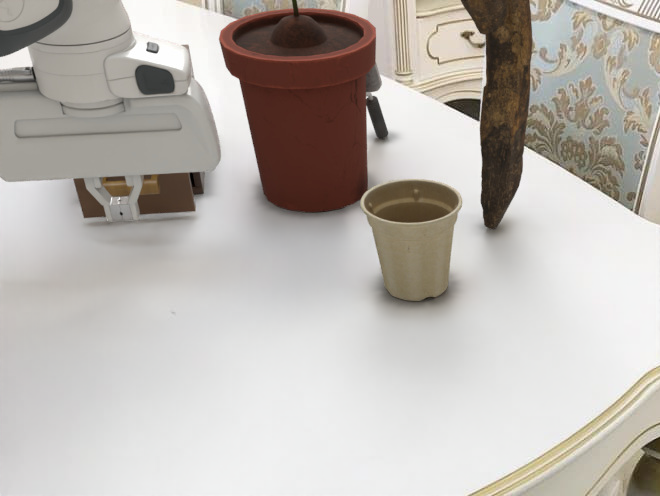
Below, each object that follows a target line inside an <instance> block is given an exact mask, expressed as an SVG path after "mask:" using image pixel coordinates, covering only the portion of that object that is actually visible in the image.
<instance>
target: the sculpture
mask: <svg viewBox="0 0 660 496" xmlns="http://www.w3.org/2000/svg"><path fill="white" fill-rule="evenodd" d="M460 2H461V4H462V6H463V8H464V9H465V10H466V12H467V14H468V15H469V16H470V18H471V19H472V22H473V23H474V25H475V27H476V29H477V31H478V32H479V34H480V35H485V76H486V83H485V85H484V86H483V88H482V89H483V90H482V99H481V107H480V108H481V109H480V122H479V141H480V142H479V143H480V144H479V145H480V155H481V182H480V186H481V192H480V205H481V208H482V218H483V225H484V227H485V228H487V229H489V230H495V229H496V228H497V227H498V226H499V225H500V223H501V222H502V220H503V218H504V216H505V214H506V213H507V211H508V209H509V207H510V205H511V203H512V202H513V200H514V198H515V196H516V194H517V191H518V189H519V187H520V184H521V181H522V175H523V171H524V170H523V169H524V152H525V143H526V132H527V123H528V117H529V107H530V99H531V61H532V56H533V27H532V26H533V25H532V13H531V12H532V11H531V4H530V3H531V2H530V0H460Z"/></svg>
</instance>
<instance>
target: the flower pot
mask: <svg viewBox="0 0 660 496" xmlns="http://www.w3.org/2000/svg"><path fill="white" fill-rule="evenodd" d="M359 205H360V209H361V211H362V213H363V214H364V215H365V216H366V220H367V223H368V225H369V226H370V228H371V231H372V236H373V239H374V244H375V248H376V253H377V257H378V262H379V266H380V271H381V275H382V280H383V286H384V288H385V289H386V290H387V291H388V293H389V294H390V295H391V296H392V297H394V298H397V299H400V300H403V301H410V302H421V301H423V300H424V299H427V298H438V297H440V296H441V295H442V294H444V292H446V290H447V289H448V287H449V280H450V279H449V278H450V267H451V260H452V259H451V258H452V247H453V240H454V239H453V238H454V231H455V230H454V229H455V225H456V223H457V221H458V217H459V214H458V213H460V211H461V209H462V207H463V197H462V194H461V193H460V192H459V191H458V190H457V189H456V188H454V187H452V185H449V184H447V183H444V182H443V181H442V182H441V181H436V180H431V179H425V178H404V179H403V178H402V179H396V180H389V181H386V182H382V183H379V184H377V185H375V186H372V187H371V188H368V191H366V192H365V193H364V195H363V196H362V198H361V199H360V200H359Z"/></svg>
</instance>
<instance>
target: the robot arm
mask: <svg viewBox="0 0 660 496" xmlns="http://www.w3.org/2000/svg"><path fill="white" fill-rule="evenodd" d="M182 45H183V44H179V43H176V42H172V41H169V40H165V39H161V38H158V37H154V36H150V35H148V34H144V33H141V32H137V31H135V30H133V27H132V23H131V19H130V16H129V13H128V11H127V9H126V7H125V6H124V3H123V1H122V0H0V58H3V57H7V56H9V55H10V56H11V55H12V54H14V53H16V52H19V51H21V50H23V49H25V48H27V50H28V55H29V57H30V58H29V59H30V61H31V65H32V66H16V67H10V68H3V69H2V68H1V69H0V179H2V180H3V181H4V182H5V183H19V182H20V183H21V182H39V181H56V180H73V179H77V178H84V181H85V185H86V189H87V190H88V191H89V192H90V193H91V194H92V195H93V196H94V197H95V198H96V200H97V201H98V202H99V203H100V204H101V205H103V206H104V210H105V214H106V217H105V218H106V221H107V222H108V223H113V222H129V221H140V217H141V215H140V211H139V206H138V202H137V199H138V197H139V194H140V191H141V188H142V185H143V178H144V175H150V174H169V173H187V172H213V171H215V170H216V168H217V167H218V165H219V164H220V162H221V159H222V150H221V147H222V146H221V142H220V137H219V132H218V128H217V124H216V121H215V118H214V114H213V110H212V108H211V105H210V101H209V99H208V95H207V94H206V91H205V90H204V88H203V86H202V85H201V84H200V82H198V80H196V78H195V77H194V78H195V79H194V78H192V67H193V64H192V65H191V61H192V58H191V59H190V56H191V54H190V55H189V52H188V50H187V49H186V48H185V47H184V46H182ZM114 176H125V179H126V183H127V186H132V188H131V191H130V194H129V196H121V197H112V196H111V195H110V194H109V193H108V191H107V190H106V189H105V188H104V187H103V185H102V181H103V177H114Z"/></svg>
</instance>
